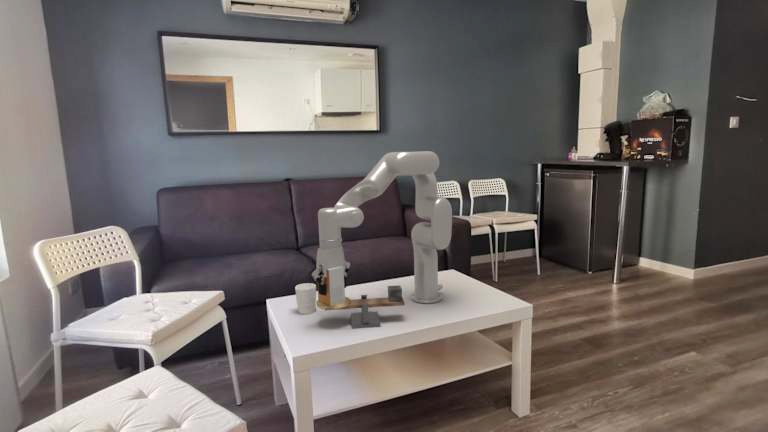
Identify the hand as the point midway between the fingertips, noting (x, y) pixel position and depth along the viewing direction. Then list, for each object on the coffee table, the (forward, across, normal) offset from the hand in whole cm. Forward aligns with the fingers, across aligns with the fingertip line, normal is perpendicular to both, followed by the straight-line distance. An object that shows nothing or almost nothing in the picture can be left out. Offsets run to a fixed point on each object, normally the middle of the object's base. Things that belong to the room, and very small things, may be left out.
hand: (332, 290), depth 145 cm
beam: (+6, -7, +7) cm, 12 cm away
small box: (+4, 0, 0) cm, 4 cm away
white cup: (+12, -2, -17) cm, 21 cm away
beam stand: (+12, -8, +8) cm, 16 cm away
